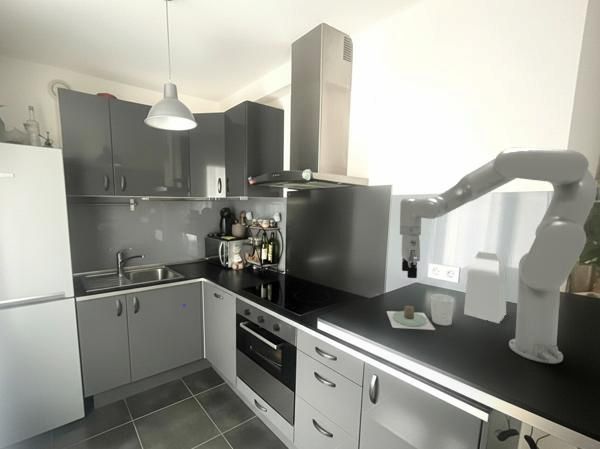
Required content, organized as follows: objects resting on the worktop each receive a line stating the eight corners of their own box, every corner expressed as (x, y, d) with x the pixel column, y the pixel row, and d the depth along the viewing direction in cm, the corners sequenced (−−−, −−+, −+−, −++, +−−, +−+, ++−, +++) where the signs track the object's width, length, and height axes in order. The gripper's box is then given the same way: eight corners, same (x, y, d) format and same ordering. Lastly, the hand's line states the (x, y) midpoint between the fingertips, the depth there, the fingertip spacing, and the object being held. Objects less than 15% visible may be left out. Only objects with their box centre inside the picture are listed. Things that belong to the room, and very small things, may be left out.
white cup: (447, 318, 108) (448, 294, 107) (457, 327, 101) (457, 301, 100) (427, 318, 109) (427, 294, 108) (434, 327, 101) (435, 301, 100)
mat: (435, 331, 98) (435, 329, 98) (392, 328, 101) (392, 327, 101) (423, 313, 113) (423, 312, 113) (386, 312, 115) (386, 311, 115)
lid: (429, 327, 100) (430, 314, 99) (396, 325, 102) (396, 313, 101) (420, 314, 112) (421, 302, 111) (390, 312, 114) (390, 301, 113)
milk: (463, 314, 112) (465, 252, 110) (472, 306, 120) (474, 248, 117) (498, 323, 103) (502, 256, 101) (506, 314, 111) (509, 252, 108)
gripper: (427, 233, 95) (425, 281, 96) (414, 228, 112) (413, 268, 113) (404, 233, 96) (403, 280, 97) (395, 228, 113) (394, 268, 114)
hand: (408, 274), depth 105 cm, fingers open, 9 cm apart
